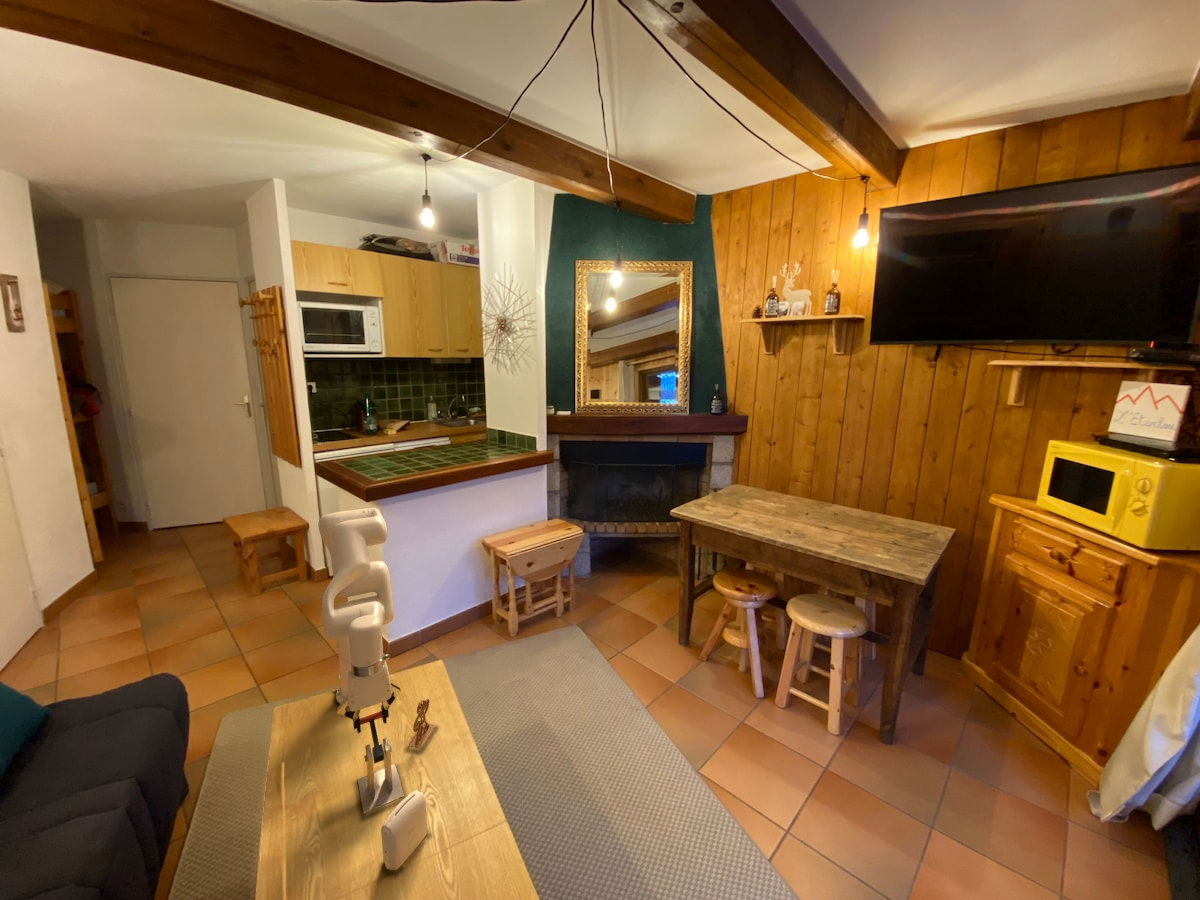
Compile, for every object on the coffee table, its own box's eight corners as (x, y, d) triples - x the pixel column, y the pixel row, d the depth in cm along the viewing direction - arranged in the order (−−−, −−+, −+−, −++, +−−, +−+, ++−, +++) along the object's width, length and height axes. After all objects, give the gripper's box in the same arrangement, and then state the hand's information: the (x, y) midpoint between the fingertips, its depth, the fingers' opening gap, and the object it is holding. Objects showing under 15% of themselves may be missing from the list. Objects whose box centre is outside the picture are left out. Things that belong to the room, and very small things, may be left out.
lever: (359, 722, 125) (359, 716, 124) (381, 714, 128) (381, 708, 127) (366, 766, 116) (366, 761, 115) (391, 757, 119) (391, 751, 118)
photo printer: (395, 877, 101) (392, 829, 98) (380, 868, 102) (377, 820, 100) (430, 834, 110) (428, 789, 108) (416, 826, 112) (414, 781, 109)
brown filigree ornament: (420, 751, 132) (419, 714, 130) (407, 749, 133) (405, 712, 131) (436, 727, 141) (435, 692, 139) (424, 725, 142) (422, 690, 139)
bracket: (357, 783, 122) (354, 740, 120) (395, 767, 127) (392, 725, 125) (364, 817, 113) (360, 771, 111) (404, 799, 118) (401, 755, 116)
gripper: (400, 646, 130) (402, 703, 134) (327, 667, 120) (333, 728, 124) (406, 661, 124) (409, 721, 127) (330, 684, 114) (336, 748, 118)
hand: (371, 724), depth 126 cm, fingers closed on lever, 5 cm apart
